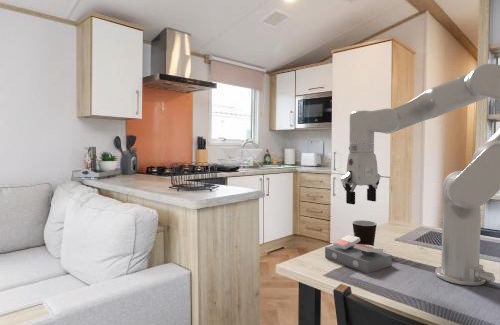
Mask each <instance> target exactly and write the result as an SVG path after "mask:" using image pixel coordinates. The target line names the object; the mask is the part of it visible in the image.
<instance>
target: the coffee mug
mask: <svg viewBox="0 0 500 325" xmlns="http://www.w3.org/2000/svg"><path fill="white" fill-rule="evenodd" d="M377 226H378V225H377V222H376V221H370V220H365V219H364V220H363V219H362V220H360V219H359V220H353V221H352V228H353V229H352V230H353V236H355V237H359V238H360V241H359V242H358V243H356V244H363V245H372V246H374V245H375V238H376V232H377Z"/></svg>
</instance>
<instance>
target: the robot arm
mask: <svg viewBox="0 0 500 325" xmlns="http://www.w3.org/2000/svg"><path fill="white" fill-rule="evenodd" d="M486 98H490V99H494V100H497V101H500V64H495V63H484V64H481V65H478V66H476V67H475V68H474V69H472V70H471V71H470V72H468V73H465V74H463V75H460V76H458V77H455V78H452V79H450V80H448V81H446V82H443V83H440V84H438V85H436V86H434V87H431V88H429V89H427V90H425V91H424V92H422V93H421V94H419V95H418V96H416V97H415V98H413V99H411V100H409V101H407V102H404V103H402V104H400V105H398V106H396V107H393V108H381V109H376V110H375V109H374V110H355V111H352V112H350V114H349V147H348V151H349V153H348V156H347V164H346V174H344V175H343V176H342V177H341V178H340V181H341V184H342V187H343V188H344V191H346V192H345V193H346V194H345V196H346V197H345V203H346V204H349V205H355V204H356V191H355V189H356V188H357V186H363V187H364V186H367V187H368V188H366V200H367V201H370V202H376V201H377V190H378V186H379V184H380V180H381V177H382V176H381V174H379V172H378V171H379V170H378V161H377V156H376V153H375V133H382V134H388V135H389V134H392V133H395V132H398V131H401V130H403V129H406V128H408V127H412V126H414V125H416V124H419V123H422V122H424V121H428V120H432V119H435V118H438V117H441V116H443V115H446V114H448V113H451V112H454V111H456V110H458V109H459V110H460V109H461V108H464V107H467V106H469V105H472V104H474V103H477V102H479V101H482V100H484V99H486ZM498 192H500V127H499V128H498V129H497V130H496V132H494V133H493V134H492V135H491V136H489V138H488V139H487V140H486V141H484V143H483V144H481V145H480V146H479V147H478V148H477V149H476V150H474V152H473V154H472V158H471V162H470V163H469V164H468V165H467V166H466V167H465V168H464V169H463V170H456V171H453V172H451V173H449V174H447V176H446V177H445V178H444V180H443V182H442V186H441V196H442V197H441V198H442V201H441V202H442V223H441V224H442V226H441V227H442V228H441V258H440V260H441V262H440V264H441V266H438V267H436V268H435V273H434V274H435V275H436V276H437V277H438V278H439V279H441V280H443V281H446V282H449V283H452V284H457V285H461V286H470V287H471V286H481V285H484V284H486V282H489V283H495V280H496V276H495V274H494V273H493V272H489V271H485V269H484V265H483V264H480V255H481V254H480V252H481V228H482V212H481V211H482V208H481V206H483V205H485V204H486V203H488V201H490V200H491V199H492V198H493V197H494V196H495V195H496V194H497V193H498Z"/></svg>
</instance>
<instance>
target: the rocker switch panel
mask: <svg viewBox="0 0 500 325" xmlns="http://www.w3.org/2000/svg"><path fill="white" fill-rule="evenodd" d="M354 246H355V244H354V245H352V246H350V247H349V248H347V249H345V250H344V249H341V248H338V247H335V246H334V245H330V246H329V245H328V246H326V247H324V258H327V259H328V260H332V261H334V262H337V263H340V264H342V265H345V266H347V267H350V268H352V269H355V270H357V271H360V272H362V273H365V274H370V273H374V272H376V271H379V270H382V269H386V268H389V267H392V266H393V265H392V264H393V262H392V261H393V255H392V254H390V253H387V252H383V253H380V252H366V251H363V250H360V249H356V248H354Z"/></svg>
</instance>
